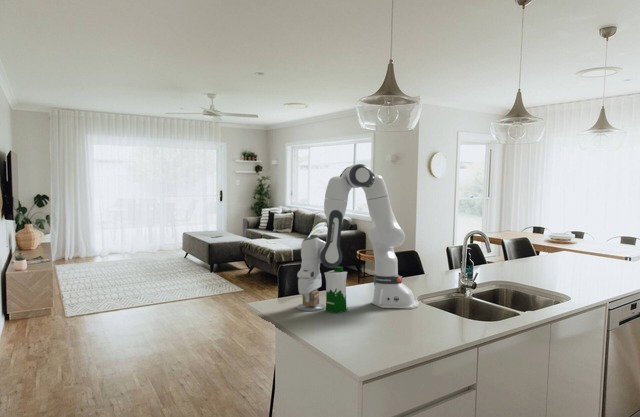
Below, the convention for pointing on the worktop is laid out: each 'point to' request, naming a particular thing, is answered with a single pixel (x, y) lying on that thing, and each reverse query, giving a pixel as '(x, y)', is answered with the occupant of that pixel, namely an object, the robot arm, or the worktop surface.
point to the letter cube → (312, 299)
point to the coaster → (311, 307)
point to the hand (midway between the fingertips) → (310, 300)
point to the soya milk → (336, 290)
